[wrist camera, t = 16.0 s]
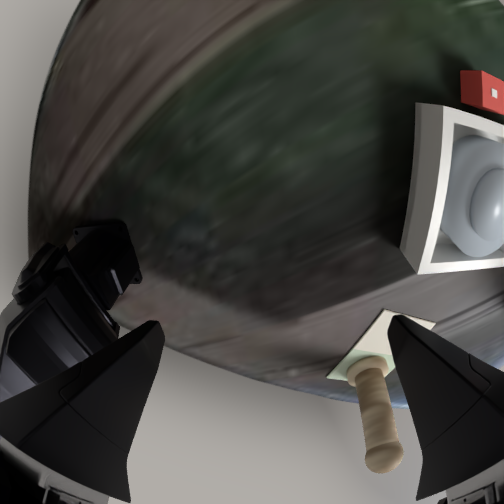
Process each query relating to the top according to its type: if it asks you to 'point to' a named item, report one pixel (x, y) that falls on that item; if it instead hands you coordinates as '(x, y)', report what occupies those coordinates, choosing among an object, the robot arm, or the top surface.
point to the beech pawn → (376, 414)
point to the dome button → (475, 196)
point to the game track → (373, 344)
